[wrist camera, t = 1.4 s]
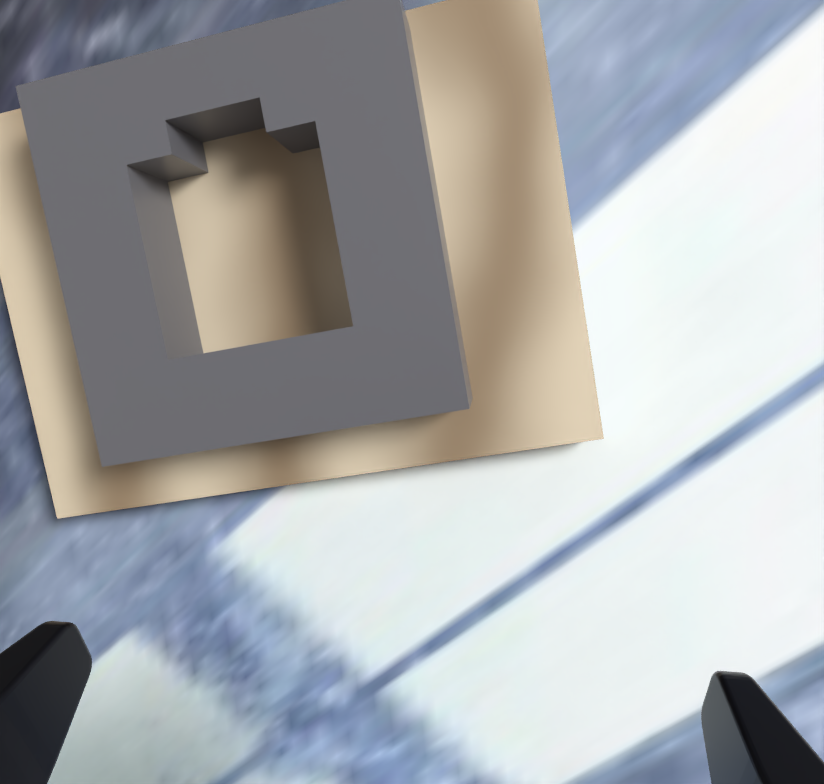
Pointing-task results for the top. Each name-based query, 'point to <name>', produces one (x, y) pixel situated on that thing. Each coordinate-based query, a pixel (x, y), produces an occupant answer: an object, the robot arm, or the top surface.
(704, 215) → the top surface
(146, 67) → the socket
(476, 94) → the board
